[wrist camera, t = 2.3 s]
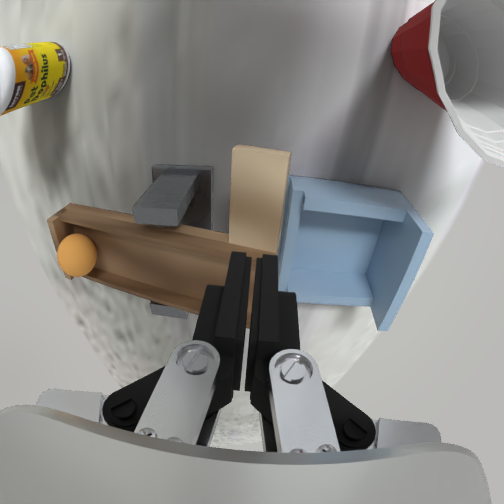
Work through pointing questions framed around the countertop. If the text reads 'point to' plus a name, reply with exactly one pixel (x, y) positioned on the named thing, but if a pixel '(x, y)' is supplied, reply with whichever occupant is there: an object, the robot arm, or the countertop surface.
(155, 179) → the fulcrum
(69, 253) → the ball
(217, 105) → the countertop surface
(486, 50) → the plastic cup
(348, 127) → the countertop surface
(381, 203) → the blue tray
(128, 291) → the lever
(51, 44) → the supplement bottle
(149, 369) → the countertop surface
